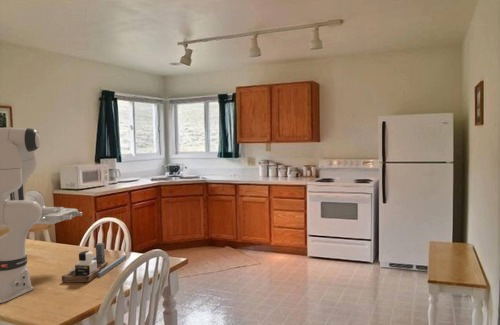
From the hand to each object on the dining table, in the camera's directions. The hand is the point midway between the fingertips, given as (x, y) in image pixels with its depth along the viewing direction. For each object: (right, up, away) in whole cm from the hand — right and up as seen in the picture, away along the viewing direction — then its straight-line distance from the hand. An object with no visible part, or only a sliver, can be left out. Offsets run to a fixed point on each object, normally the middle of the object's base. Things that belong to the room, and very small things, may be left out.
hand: (76, 215), depth 201 cm
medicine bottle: (+12, -27, -16) cm, 34 cm away
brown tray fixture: (+11, -26, -11) cm, 31 cm away
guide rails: (+12, -26, -1) cm, 29 cm away
